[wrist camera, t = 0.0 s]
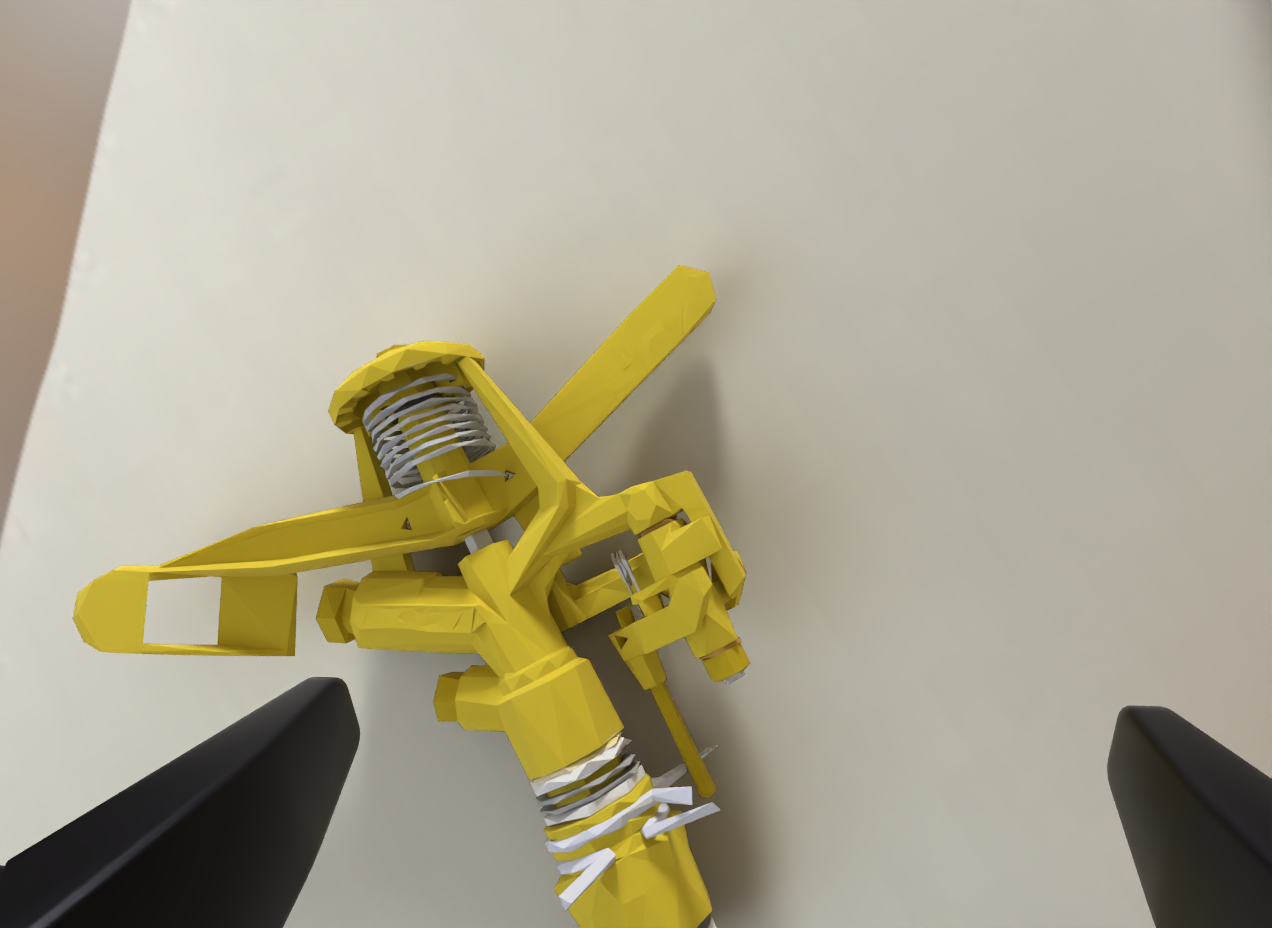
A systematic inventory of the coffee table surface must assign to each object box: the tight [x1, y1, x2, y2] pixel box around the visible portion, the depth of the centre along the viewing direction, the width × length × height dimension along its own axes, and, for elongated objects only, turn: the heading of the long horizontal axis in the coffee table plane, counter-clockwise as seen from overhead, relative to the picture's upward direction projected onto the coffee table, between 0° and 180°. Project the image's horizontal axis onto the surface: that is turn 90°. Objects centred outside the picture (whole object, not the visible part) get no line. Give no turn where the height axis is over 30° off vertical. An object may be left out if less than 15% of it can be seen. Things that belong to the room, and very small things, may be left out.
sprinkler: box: [73, 265, 750, 928], centre depth 22 cm, size 22×6×20 cm
